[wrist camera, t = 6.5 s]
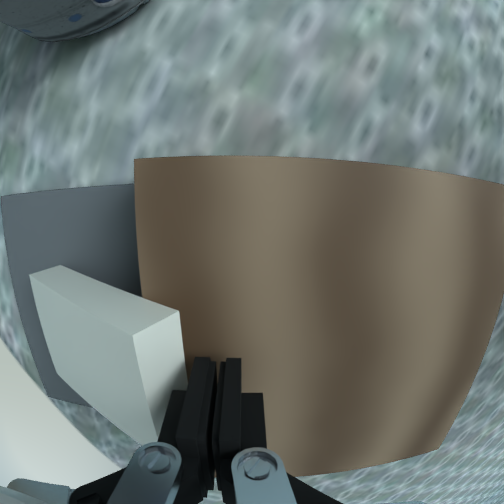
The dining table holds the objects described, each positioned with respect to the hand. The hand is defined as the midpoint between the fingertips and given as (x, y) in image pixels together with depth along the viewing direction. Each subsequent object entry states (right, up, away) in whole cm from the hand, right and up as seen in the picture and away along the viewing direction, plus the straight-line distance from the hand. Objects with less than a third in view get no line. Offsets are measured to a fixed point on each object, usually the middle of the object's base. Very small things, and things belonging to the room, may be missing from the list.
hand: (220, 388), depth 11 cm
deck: (+5, +1, +5) cm, 7 cm away
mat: (-8, +1, +5) cm, 10 cm away
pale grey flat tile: (-5, +1, +2) cm, 6 cm away
